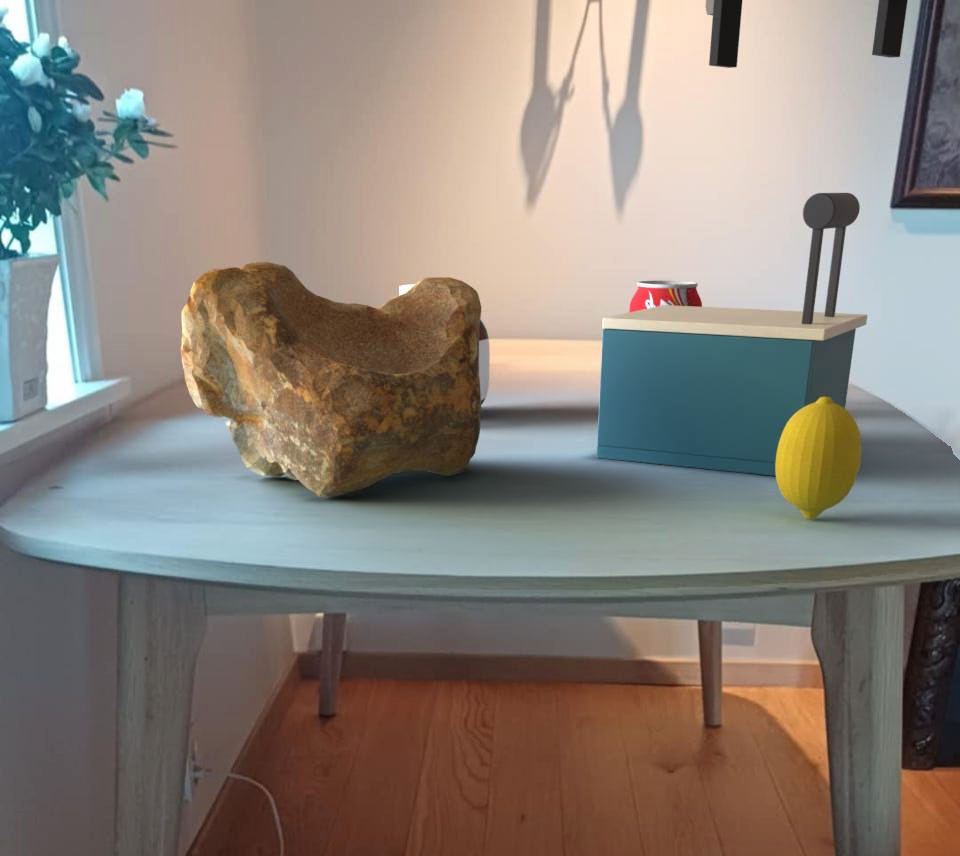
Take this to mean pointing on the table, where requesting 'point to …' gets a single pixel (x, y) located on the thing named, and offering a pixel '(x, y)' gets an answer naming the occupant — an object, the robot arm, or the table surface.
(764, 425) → the box
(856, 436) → the lemon
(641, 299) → the soda can
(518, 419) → the table surface
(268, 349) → the rough brown rock
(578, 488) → the table surface
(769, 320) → the cooler lid
